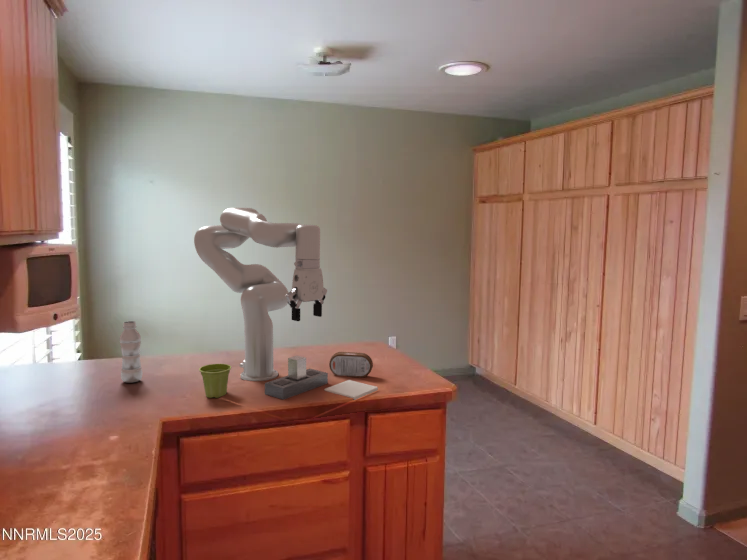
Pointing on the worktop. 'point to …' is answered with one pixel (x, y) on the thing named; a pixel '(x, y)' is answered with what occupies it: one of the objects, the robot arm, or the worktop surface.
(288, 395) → the grey compartment holder
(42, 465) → the worktop surface
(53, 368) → the worktop surface
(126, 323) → the plastic bottle
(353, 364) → the tin
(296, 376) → the steel block
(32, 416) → the worktop surface
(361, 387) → the pad
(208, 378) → the plant pot
